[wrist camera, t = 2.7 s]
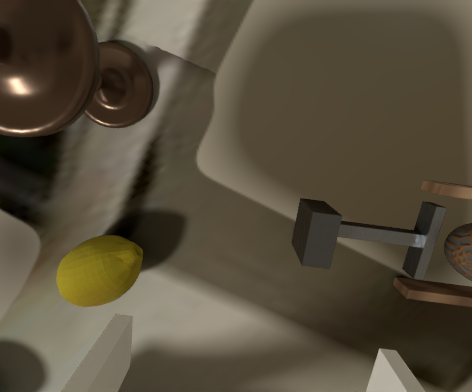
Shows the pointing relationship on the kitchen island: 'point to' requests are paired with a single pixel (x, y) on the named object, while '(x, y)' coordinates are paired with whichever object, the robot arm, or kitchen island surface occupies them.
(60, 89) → the candlestick
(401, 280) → the channel
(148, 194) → the kitchen island surface
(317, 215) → the lopsided grey dumbbell
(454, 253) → the vase
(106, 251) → the lemon
